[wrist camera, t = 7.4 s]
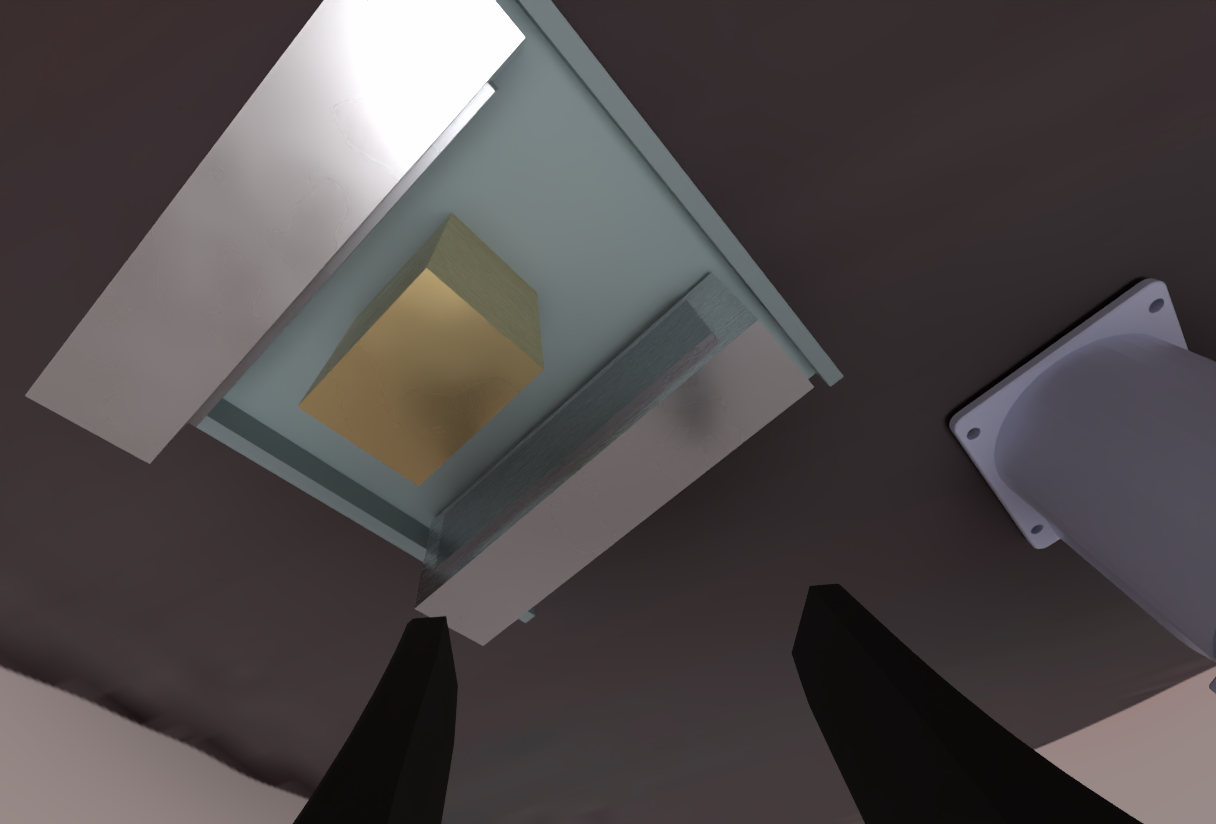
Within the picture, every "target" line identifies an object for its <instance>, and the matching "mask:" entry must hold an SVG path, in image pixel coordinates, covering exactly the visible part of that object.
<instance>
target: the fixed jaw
mask: <svg viewBox="0 0 1216 824" xmlns="http://www.w3.org/2000/svg"><path fill="white" fill-rule="evenodd" d="M524 41H525V36H524V35H523V34H522V33H521V32H520V30H519V29H518V28H517V27H516V26H515V24H514V23H513V22H512V21H511V20H510V18H509V17H508V16H507V15H506V13H505V12H504V11H503V10H502V9H501V7H500V6H499V5H498V4H497V3H496V1H495V0H324V1H323V2H322V3H321V5H320V6H319V7H318V9H317V10H316V11H315V13H314V14H313V15H312V17H311V18H310V19H309V21H308V22H307V23H306V25H305V26H304V27H303V29H302V30H301V31H300V33H299V34H298V35H297V37H296V38H295V39H294V40H293V42H292V43H291V44H290V46H289V47H288V48H287V50H286V51H285V52H284V54H283V55H282V56H281V58H280V59H279V60H278V62H277V63H276V64H275V66H274V67H273V68H272V70H271V71H270V72H269V74H268V75H267V76H266V78H265V79H264V80H263V81H262V83H261V84H260V85H259V87H258V88H257V89H256V91H255V92H254V93H253V95H252V96H251V97H250V99H249V100H248V101H247V103H246V104H245V105H244V107H243V108H242V109H241V111H240V112H239V113H238V115H237V116H236V117H235V119H234V120H233V121H232V122H231V124H230V125H229V126H228V128H227V129H226V130H225V132H224V133H223V134H222V136H221V137H220V138H219V140H218V141H217V142H216V144H215V145H214V146H213V148H212V149H211V150H210V152H209V153H208V154H207V156H206V157H205V158H204V160H203V161H202V162H201V163H200V165H199V166H198V167H197V169H196V170H195V171H194V173H193V174H192V175H191V177H190V178H189V179H188V181H187V182H186V183H185V185H184V186H183V187H182V189H181V190H180V191H179V193H178V194H177V195H176V197H175V198H174V199H173V200H172V202H171V203H170V204H169V206H168V207H167V208H166V210H165V211H164V212H163V214H162V215H161V216H160V218H159V219H158V220H157V222H156V223H155V224H154V226H153V227H152V228H151V230H150V231H149V232H148V234H147V235H146V236H145V238H144V239H143V240H142V241H141V243H140V244H139V245H138V247H137V248H136V249H135V251H134V252H133V253H132V255H131V256H130V257H129V259H128V260H127V261H126V263H125V264H124V265H123V267H122V268H121V269H120V271H119V272H118V273H117V275H116V276H115V277H114V279H113V280H112V281H111V282H110V284H109V285H108V286H107V288H106V289H105V290H104V292H103V293H102V294H101V296H100V297H99V298H98V300H97V301H96V302H95V304H94V305H93V306H92V308H91V309H90V310H89V312H88V313H87V314H86V316H85V317H84V318H83V320H82V321H81V322H80V323H79V325H78V326H77V327H76V329H75V330H74V331H73V333H72V334H71V335H70V337H69V338H68V339H67V341H66V342H65V343H64V345H63V346H62V347H61V349H60V350H59V351H58V353H57V354H56V355H55V357H54V358H53V359H52V360H51V362H50V363H49V364H48V366H47V367H46V368H45V370H44V371H43V372H42V374H41V375H40V376H39V378H38V379H37V380H36V382H35V383H34V384H33V386H32V387H31V388H30V390H29V391H28V392H27V394H26V395H25V396H26V397H28V398H30V399H32V400H34V401H35V402H37V403H39V404H41V405H43V406H45V407H46V408H48V409H50V410H52V411H54V412H56V413H57V414H59V415H61V416H63V417H65V418H66V419H68V420H70V421H72V422H74V423H76V424H77V425H79V426H81V427H83V428H85V429H87V430H88V431H90V432H92V433H94V434H96V435H98V436H99V437H101V438H103V439H105V440H107V441H109V442H110V443H112V444H114V445H116V446H118V447H120V448H121V449H123V450H125V451H127V452H129V453H131V454H132V455H134V456H136V457H138V458H140V459H142V460H143V461H145V462H147V463H149V464H150V463H151V462H152V461H153V460H154V459H155V458H156V457H157V456H158V455H159V454H160V453H161V451H162V450H163V449H164V448H165V447H166V446H167V445H168V444H169V443H170V442H171V441H172V440H173V439H174V438H175V437H176V436H177V435H178V433H179V432H180V431H181V430H182V429H183V428H184V427H185V426H186V425H187V424H188V423H190V424H192V425H193V426H195V427H197V426H198V425H199V424H200V422H201V421H202V420H203V419H204V418H205V417H206V416H207V415H208V414H209V413H210V412H211V410H212V409H213V408H214V407H215V406H216V405H217V404H218V403H219V402H220V401H221V399H222V398H223V397H224V396H225V395H226V394H227V393H228V392H229V391H230V390H231V388H232V387H233V386H234V385H235V384H236V383H237V382H238V381H239V380H240V379H241V377H242V376H243V375H244V374H245V373H246V372H247V371H248V370H249V368H250V367H251V366H252V365H253V364H254V363H255V362H256V361H257V359H258V358H259V357H260V356H261V355H262V354H263V353H264V352H265V350H266V349H267V348H268V347H269V346H270V345H271V344H272V343H273V341H274V340H275V339H276V338H277V337H278V336H279V335H280V334H281V333H282V331H283V330H284V329H285V328H286V327H287V326H288V325H289V324H290V322H291V321H292V320H293V319H294V318H295V317H296V316H297V315H298V313H299V312H300V311H301V310H302V309H303V308H304V307H305V306H306V304H307V303H308V302H309V301H310V300H311V299H312V298H313V297H314V295H315V294H316V293H317V292H318V291H319V290H320V289H321V288H322V286H323V285H324V284H325V283H326V282H327V281H328V280H329V279H330V278H331V276H332V275H333V274H334V273H335V272H336V271H337V270H338V269H339V267H340V266H341V265H342V264H343V263H344V262H345V261H346V260H347V258H348V257H349V256H350V255H351V254H352V253H353V252H354V251H355V249H356V248H357V247H358V246H359V245H360V244H361V243H362V242H363V240H364V239H365V238H366V237H367V236H368V235H369V234H370V233H371V231H372V230H373V229H374V228H375V227H376V226H377V225H378V224H379V223H380V221H381V220H382V219H383V218H384V217H385V216H386V215H387V214H388V212H389V211H390V210H391V209H392V208H393V207H394V206H395V205H396V203H397V202H398V201H399V200H400V199H401V198H402V197H403V196H404V194H405V193H406V192H407V191H408V190H409V189H410V188H411V187H412V185H413V184H414V183H415V182H416V181H417V180H418V179H419V178H420V176H421V175H422V174H423V173H424V172H425V171H426V170H427V169H428V168H429V166H430V165H431V164H432V163H433V162H434V161H435V160H436V159H437V157H438V156H439V155H440V154H441V153H442V152H443V151H444V150H445V148H446V147H447V146H448V145H449V144H450V143H451V142H452V141H453V139H454V138H455V137H456V136H457V135H458V134H459V133H460V132H461V130H462V129H463V128H464V127H465V126H466V125H467V124H468V123H469V121H470V120H471V119H472V118H473V117H474V116H475V115H476V114H477V113H478V111H479V110H480V109H481V108H482V107H483V106H484V105H485V104H486V102H487V101H488V100H489V99H490V98H491V97H492V96H493V95H494V93H495V92H496V91H497V90H498V89H499V88H498V87H497V86H496V85H495V84H494V83H493V81H494V79H495V78H496V77H497V76H498V75H499V74H500V73H501V72H502V70H503V69H504V68H505V67H506V66H507V65H508V64H509V62H510V61H511V60H512V59H513V58H514V57H515V56H516V55H517V53H518V52H519V51H520V50H521V49H522V48H523V46H524Z"/></svg>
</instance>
